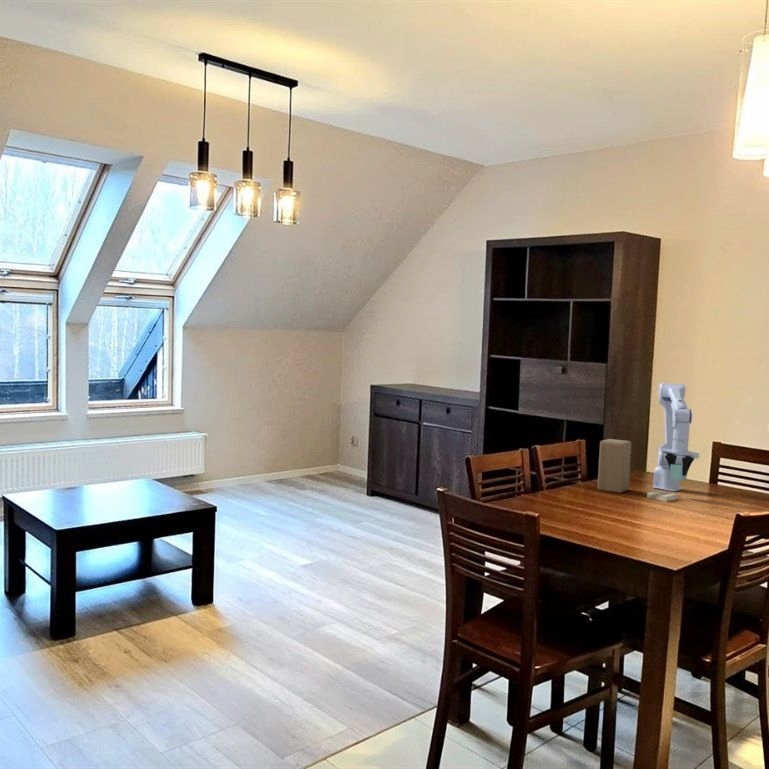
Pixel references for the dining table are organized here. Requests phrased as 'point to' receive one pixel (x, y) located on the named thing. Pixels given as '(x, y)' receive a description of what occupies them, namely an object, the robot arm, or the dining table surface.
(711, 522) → the dining table surface
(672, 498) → the cream block
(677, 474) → the teal block
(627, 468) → the wooden block
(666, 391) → the robot arm
